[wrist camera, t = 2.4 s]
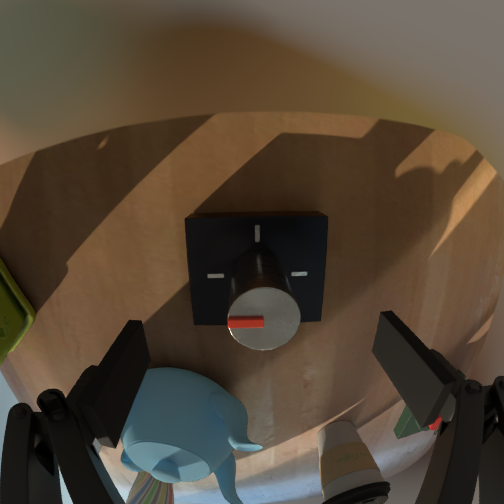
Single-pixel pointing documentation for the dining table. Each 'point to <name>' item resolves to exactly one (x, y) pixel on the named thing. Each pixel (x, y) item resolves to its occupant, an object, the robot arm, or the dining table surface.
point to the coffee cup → (348, 467)
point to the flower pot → (12, 313)
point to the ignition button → (435, 423)
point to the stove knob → (261, 302)
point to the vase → (150, 490)
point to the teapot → (185, 430)
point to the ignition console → (410, 422)
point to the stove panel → (249, 239)
